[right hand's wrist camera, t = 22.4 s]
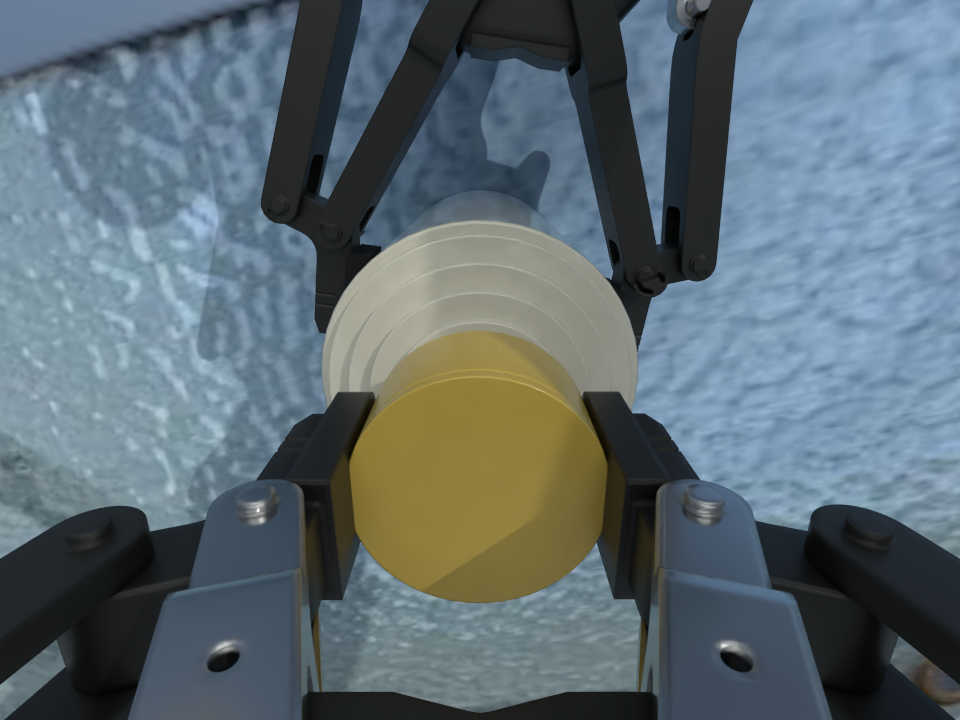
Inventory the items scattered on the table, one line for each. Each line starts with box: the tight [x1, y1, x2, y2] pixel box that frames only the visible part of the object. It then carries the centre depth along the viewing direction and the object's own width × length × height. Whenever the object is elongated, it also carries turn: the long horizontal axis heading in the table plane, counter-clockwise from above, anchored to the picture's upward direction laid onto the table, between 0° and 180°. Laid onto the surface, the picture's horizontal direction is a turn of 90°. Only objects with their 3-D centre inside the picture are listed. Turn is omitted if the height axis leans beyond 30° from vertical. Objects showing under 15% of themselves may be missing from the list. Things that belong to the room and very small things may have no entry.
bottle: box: [322, 190, 638, 410], centre depth 18 cm, size 8×8×18 cm
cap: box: [349, 331, 608, 603], centre depth 11 cm, size 5×5×2 cm
